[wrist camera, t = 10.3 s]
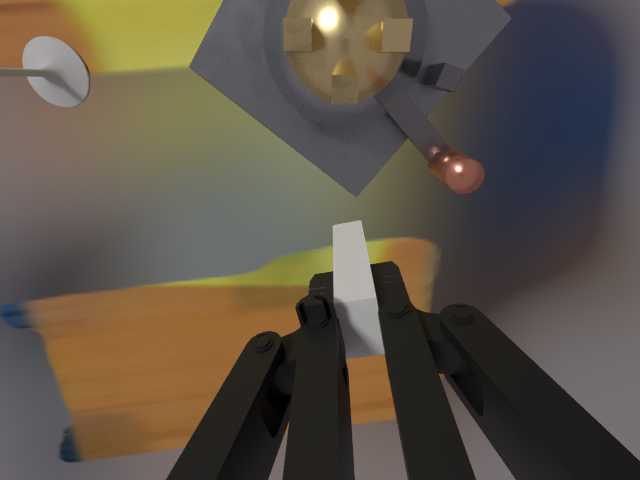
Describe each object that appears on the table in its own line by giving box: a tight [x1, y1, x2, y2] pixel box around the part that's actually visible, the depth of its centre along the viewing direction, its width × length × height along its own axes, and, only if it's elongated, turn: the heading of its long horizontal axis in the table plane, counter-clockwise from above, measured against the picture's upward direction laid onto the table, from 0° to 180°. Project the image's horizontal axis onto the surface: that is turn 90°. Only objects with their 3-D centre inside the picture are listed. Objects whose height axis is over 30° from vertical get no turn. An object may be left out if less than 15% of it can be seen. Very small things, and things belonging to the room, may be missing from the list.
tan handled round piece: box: [283, 0, 485, 194], centre depth 30 cm, size 23×11×7 cm, turn 44°
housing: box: [189, 0, 511, 197], centre depth 32 cm, size 24×24×6 cm
